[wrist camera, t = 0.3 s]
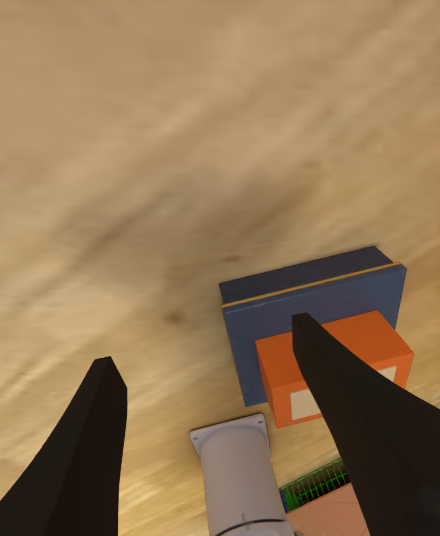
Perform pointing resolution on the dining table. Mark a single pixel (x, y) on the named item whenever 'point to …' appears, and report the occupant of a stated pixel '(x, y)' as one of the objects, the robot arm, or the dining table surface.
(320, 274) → the biscuit tin
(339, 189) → the dining table surface
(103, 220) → the dining table surface
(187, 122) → the dining table surface
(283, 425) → the snack box
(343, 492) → the house
